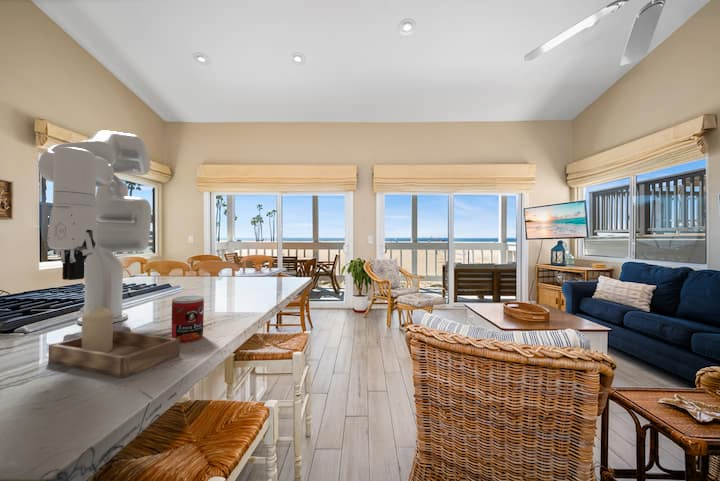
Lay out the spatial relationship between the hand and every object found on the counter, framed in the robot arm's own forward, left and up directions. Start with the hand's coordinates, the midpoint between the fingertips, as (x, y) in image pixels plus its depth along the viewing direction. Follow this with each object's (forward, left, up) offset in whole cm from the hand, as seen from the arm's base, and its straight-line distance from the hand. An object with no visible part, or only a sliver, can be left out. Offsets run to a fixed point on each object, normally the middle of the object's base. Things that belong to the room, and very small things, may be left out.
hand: (73, 278), depth 76 cm
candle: (+8, 0, -17) cm, 18 cm away
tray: (+15, 0, -17) cm, 22 cm away
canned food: (+17, +17, -17) cm, 30 cm away
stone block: (-1, +6, -18) cm, 19 cm away
